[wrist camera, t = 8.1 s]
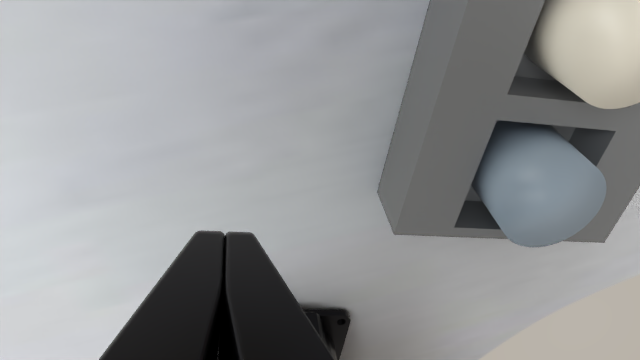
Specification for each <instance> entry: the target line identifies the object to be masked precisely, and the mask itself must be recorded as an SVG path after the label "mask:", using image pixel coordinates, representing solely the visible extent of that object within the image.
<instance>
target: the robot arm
mask: <svg viewBox="0 0 640 360" xmlns="http://www.w3.org/2000/svg"><path fill="white" fill-rule="evenodd" d="M349 324H350V317H349V313H348V312H347V311H345V310H302V308H301V307H300V305H299V303H298V302H297V300H296V299H295V297H294V296H293V294H292V293H291V291H290V289H289V288H288V286H287V285H286V283H285V282H284V280H283V279H282V277H281V276H280V274H279V272H278V271H277V269H276V268H275V266H274V265H273V263H272V262H271V260H270V259H269V257H268V255H267V254H266V252H265V251H264V249H263V248H262V246H261V245H260V243H259V241H258V240H257V238H256V237H255V236H254V234H252V233H250V232H228V233H226V235H224V233H223V232H221V231H197V232H196V233H195V234H194V235H193V236H192V238H191V239H190V240H189V242H188V243H187V244H186V246H185V247H184V248H183V250H182V251H181V252H180V253H179V255H178V256H177V257H176V259H175V260H174V261H173V263H172V264H171V265H170V267H169V268H168V269H167V271H166V272H165V273H164V275H163V276H162V277H161V278H160V280H159V281H158V282H157V284H156V285H155V286H154V288H153V289H152V290H151V292H150V293H149V294H148V296H147V297H146V298H145V300H144V301H143V302H142V303H141V305H140V306H139V307H138V309H137V310H136V311H135V313H134V314H133V315H132V317H131V318H130V319H129V321H128V322H127V323H126V324H125V326H124V327H123V328H122V330H121V331H120V332H119V334H118V335H117V336H116V338H115V339H114V340H113V342H112V343H111V344H110V346H109V347H108V348H107V349H106V351H105V352H104V353H103V355H102V356H101V357H100V359H99V360H339V358H340V355H341V352H342V348H343V345H344V341H345V338H346V334H347V331H348V327H349Z"/></svg>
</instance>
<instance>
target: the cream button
mask: <svg viewBox="0 0 640 360" xmlns="http://www.w3.org/2000/svg"><path fill="white" fill-rule="evenodd" d="M524 53H525V55H526V56H527V57H528V59H529V60H531V61H532V62H533V63H534V64H536V65H537V66H538V67H540V68H541V69H542V70H544V71H545V72H546V73H548V74H549V75H550V76H552V77H553V78H555V79H556V80H557V81H559V82H560V83H561V84H563V85H564V86H565V87H567V88H568V89H569V90H571V91H572V92H573V93H575V94H576V95H577V96H579V97H580V98H581V99H583V100H584V101H585V102H587V103H589V104H590V105H592V106H595V107H598V108H603V109H618V108H624V107H628V106H631V105H634V104H637V103H639V102H640V0H545V2H544V4H543V7H542V9H541V12H540V14H539V17H538V19H537V22H536V24H535V27H534V29H533V32H532V34H531V37H530V39H529V42H528V44H527V47H526V49H525V52H524Z"/></svg>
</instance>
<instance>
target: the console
mask: <svg viewBox="0 0 640 360" xmlns="http://www.w3.org/2000/svg"><path fill="white" fill-rule="evenodd" d="M544 2H545V0H430V3H429V6H428V10H427V14H426V17H425V21H424V25H423V28H422V32H421V35H420V39H419V43H418V46H417V50H416V54H415V57H414V61H413V64H412V68H411V72H410V75H409V79H408V82H407V86H406V90H405V93H404V97H403V101H402V104H401V108H400V111H399V115H398V119H397V122H396V126H395V130H394V133H393V137H392V140H391V144H390V148H389V151H388V155H387V158H386V162H385V166H384V169H383V173H382V177H381V180H380V184H379V187H378V191H377V193H378V195H379V198H380V200H381V203H382V205H383V208H384V210H385V213H386V215H387V218H388V221H389V223H390V226H391V228H392V231H393V233H394V234H395V235H420V236H446V237H471V238H497V239H508V238H507V237H506V235H505V234H504V233H503V231H502V230H501V228H500V227H499V225H498V224H497V222H496V221H495V219H494V218H493V216H492V215H491V213H490V212H489V210H488V209H487V207H486V206H485V204H484V203H483V202H482V200H481V199H480V197H479V196H478V194H477V193H476V191H475V190H474V188H473V187H472V185H471V184H472V181H473V179H474V176H475V174H476V171H477V169H478V166H479V164H480V161H481V159H482V156H483V154H484V151H485V149H486V146H487V144H488V141H489V139H490V136H491V134H492V131H493V129H494V126H495V124H496V123H497V122H499V121H501V120H502V121H513V122H524V123H534V124H545V125H551V126H552V127H553V128H554V129H555V130H556V131H557V132H558V133H559V134H560V135H562V136H563V137H564V138H565V139H566V140H567V141H568V142H569V143H570V144H572V145H573V146H574V147H575V148H576V149H577V150H578V151H579V152H580V153H581V154H583V155H584V156H585V157H586V158H587V159H588V160H589V161H590V162H591V163H592V164H594V165H595V166H596V167H597V168H598V169H599V170H600V171H601V172H602V174H603V176H604V177H605V181H606V187H607V188H606V196H605V199H604V202H603V204H602V206H601V208H600V210H599V211H598V213H597V214H596V216H595V217H594V218H593V219H592V220H591V221H590V222H589V223H588V224H587V225H586V226H585V227H584V228H583V229H582V230H580V231H579V232H577V233H576V234H574V235H573V236H571V237H569V238H567V239H565V240H563V241H574V242H599V243H604V242H605V240H606V239H607V237H608V236H609V234H610V232H611V231H612V229H613V228H614V226H615V224H616V223H617V221H618V220H619V218H620V216H621V215H622V213H623V212H624V210H625V209H626V207H627V205H628V204H629V202H630V201H631V199H632V197H633V196H634V194H635V193H636V191H637V189H638V188H639V186H640V102H639V103H637V104H634V105H631V106H628V107H624V108H618V109H603V108H598V107H595V106H592V105H590V104H589V103H587V102H585V101H584V100H583V99H581V98H580V97H579V96H577V95H576V94H575V93H573V92H572V91H571V90H569V89H568V88H567V87H565V86H564V85H563V84H561V83H560V82H559V81H557V80H556V79H555V78H553V77H552V76H550V75H549V74H548V73H546V72H545V71H544V70H542V69H541V68H540V67H538V66H537V65H536V64H534V63H533V62H532V61H531V60H529V59H528V57H527V56H526V55H525V53H524V52H525V49H526V47H527V44H528V42H529V39H530V37H531V34H532V32H533V29H534V27H535V24H536V22H537V19H538V17H539V14H540V12H541V9H542V7H543V4H544Z"/></svg>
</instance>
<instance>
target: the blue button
mask: <svg viewBox="0 0 640 360" xmlns="http://www.w3.org/2000/svg"><path fill="white" fill-rule="evenodd" d="M471 185H472V187H473V188H474V190H475V191H476V193H477V194H478V196H479V197H480V199H481V200H482V202H483V203H484V204H485V206H486V207H487V209H488V210H489V212H490V213H491V215H492V216H493V218H494V219H495V221H496V222H497V224H498V225H499V227H500V228H501V230H502V231H503V233H504V234H505V235H506V237H507V238H508V239H509V240H511V241H512V242H514V243H516V244H518V245H521V246H525V247H543V246H548V245H552V244H555V243H558V242H561V241H563V240H565V239H567V238H569V237H571V236H573V235H574V234H576V233H577V232H579V231H580V230H582V229H583V228H584V227H585V226H586V225H587V224H588V223H589V222H590V221H591V220H592V219H593V218H594V217H595V216H596V214H597V213H598V211H599V210H600V208H601V206H602V204H603V202H604V199H605V196H606V188H607V187H606V181H605V177H604V176H603V174H602V172H601V171H600V170H599V169H598V168H597V167H596V166H595V165H594V164H592V163H591V162H590V161H589V160H588V159H587V158H586V157H585V156H584V155H583V154H581V153H580V152H579V151H578V150H577V149H576V148H575V147H574V146H573V145H572V144H570V143H569V142H568V141H567V140H566V139H565V138H564V137H563V136H562V135H560V134H559V133H558V132H557V131H556V130H555V129H554V128H553V127H552V126H551V125H545V124H534V123H524V122H513V121H502V120H501V121H499V122H497V123H496V124H495V126H494V129H493V131H492V134H491V136H490V139H489V141H488V144H487V146H486V149H485V151H484V154H483V156H482V159H481V161H480V164H479V166H478V169H477V171H476V174H475V176H474V179H473V181H472V184H471Z"/></svg>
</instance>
